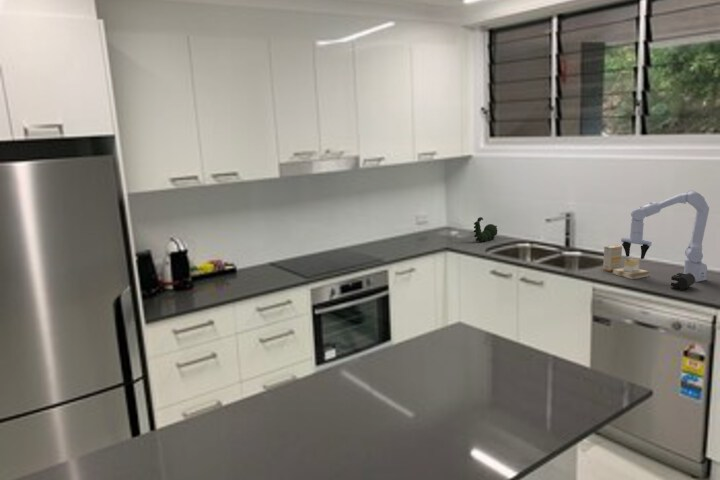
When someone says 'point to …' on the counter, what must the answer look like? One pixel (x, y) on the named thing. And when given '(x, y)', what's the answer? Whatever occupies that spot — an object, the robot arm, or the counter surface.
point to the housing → (631, 265)
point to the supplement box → (612, 257)
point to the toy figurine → (487, 233)
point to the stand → (631, 273)
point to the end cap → (682, 281)
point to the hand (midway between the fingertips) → (635, 257)
